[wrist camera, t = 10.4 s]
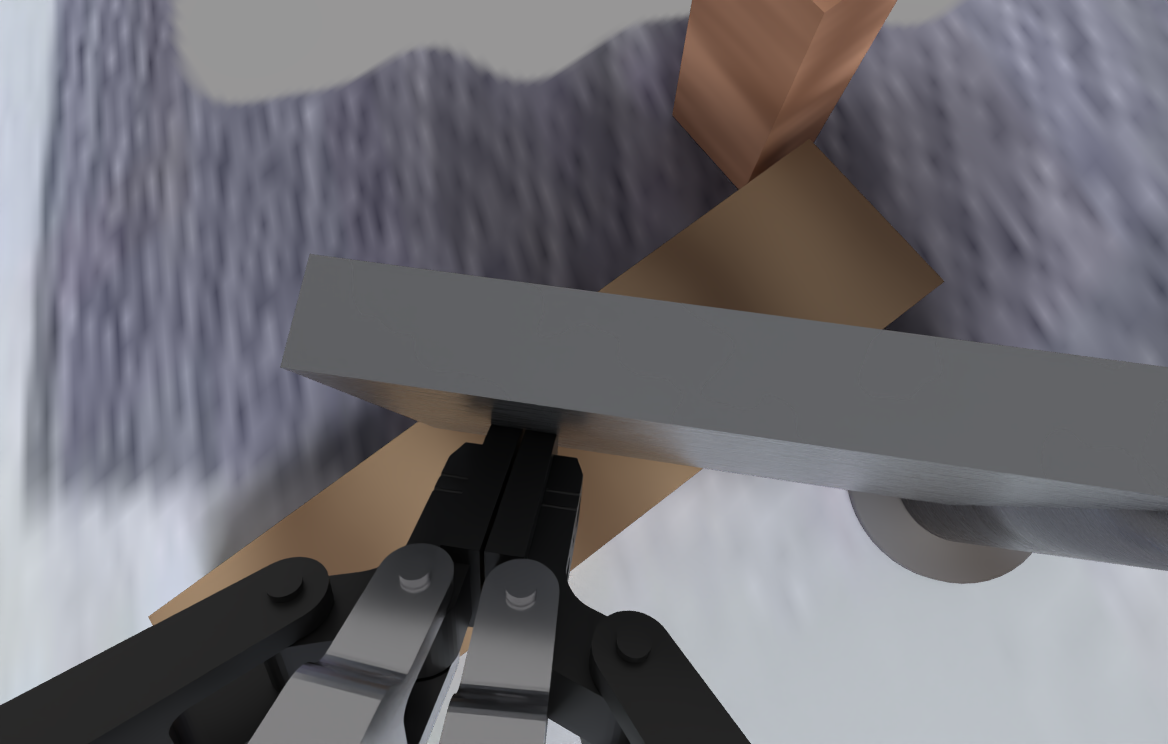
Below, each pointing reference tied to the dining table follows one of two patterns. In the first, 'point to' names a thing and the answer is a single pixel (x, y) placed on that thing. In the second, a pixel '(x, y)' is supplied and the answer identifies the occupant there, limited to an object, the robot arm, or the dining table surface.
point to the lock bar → (763, 400)
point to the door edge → (694, 293)
